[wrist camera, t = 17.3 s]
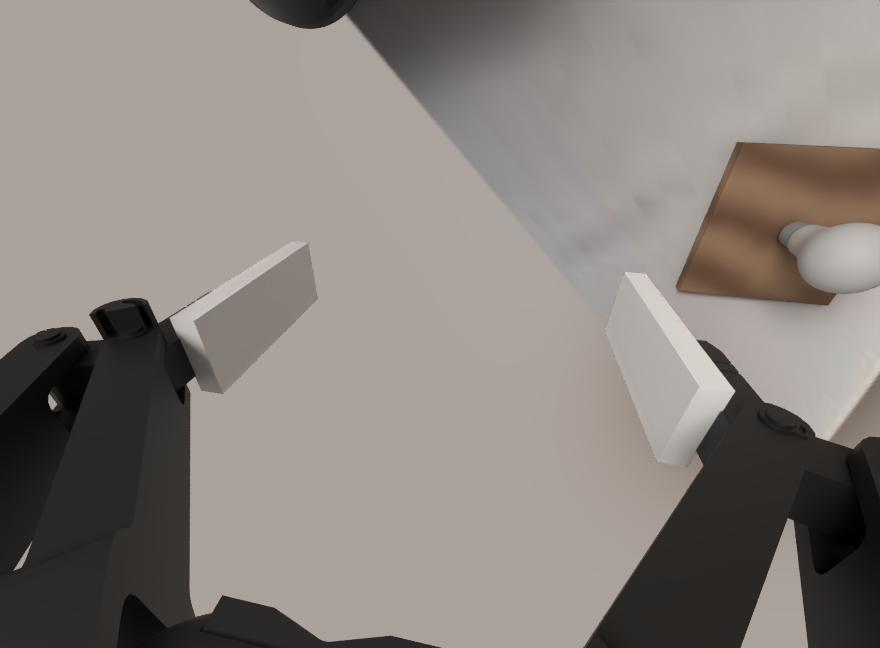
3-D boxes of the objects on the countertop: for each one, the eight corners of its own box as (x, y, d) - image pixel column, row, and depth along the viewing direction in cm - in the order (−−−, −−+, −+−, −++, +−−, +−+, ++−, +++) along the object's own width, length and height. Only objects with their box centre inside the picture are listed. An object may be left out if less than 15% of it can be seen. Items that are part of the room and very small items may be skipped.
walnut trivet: (737, 142, 35) (743, 143, 34) (923, 150, 33) (936, 152, 32) (675, 286, 44) (679, 290, 43) (820, 300, 42) (828, 305, 41)
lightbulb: (840, 212, 36) (953, 250, 27) (792, 265, 39) (877, 315, 30) (783, 193, 36) (876, 225, 27) (739, 248, 39) (808, 293, 30)
